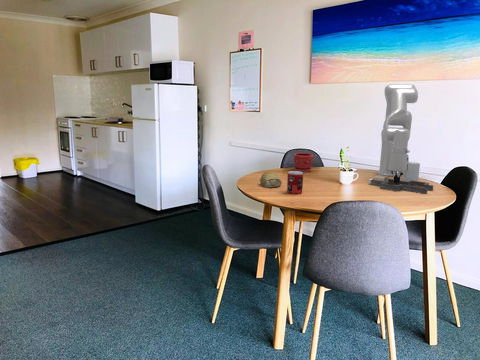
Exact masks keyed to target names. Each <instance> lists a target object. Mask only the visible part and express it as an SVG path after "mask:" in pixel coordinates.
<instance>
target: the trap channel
mask: <svg viewBox="0 0 480 360" xmlns="http://www.w3.org/2000/svg"><path fill="white" fill-rule="evenodd" d="M393 180H394V178H392V179H391V178H388V184H387V182H384V181H377V180H374V177H373V178H369V179H368V185H370V186H376V187H379V189H380V190H381V189H382V190H387V191H391V190H392V191H393V192H397V191H398V192H400V191H407V192H411V193H416V194H417V193H418V194H423V195H424V194H425V195H427V194H428V192H433V191H434V185H433V184H432V185H431V184H430V183H429V182H424V181H423V182H422V181H420V180H418V181H412V180H411V181H408V182H406V181H403V180H400V182H399V183H398V184H396V183H394V181H393ZM390 184H391V185H390Z"/></svg>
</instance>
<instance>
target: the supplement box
mask: <svg viewBox="0 0 480 360" xmlns="http://www.w3.org/2000/svg"><path fill="white" fill-rule="evenodd" d="M420 166H421V162H418V161H409V168H408V171H407V174H404V175H402V181H406V182H408V181H411V180H412V181H419V176H420V169H421V167H420Z"/></svg>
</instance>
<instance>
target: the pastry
mask: <svg viewBox="0 0 480 360" xmlns="http://www.w3.org/2000/svg"><path fill="white" fill-rule="evenodd" d="M259 182H260V185H261V186H262V187H263V188H264V187H265V188H266V189H272V188H276V187H277V188H279V187H281V186H282V179H281V178H280V177H279V175H278V174H277V173H275V172H272V171H265V172H263V173H262V175H261V176H260V179H259Z"/></svg>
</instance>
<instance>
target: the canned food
mask: <svg viewBox="0 0 480 360" xmlns="http://www.w3.org/2000/svg"><path fill="white" fill-rule="evenodd" d="M286 179H287V182H286V183H287V184H286V186H287V187H286V192H287V193H288V194H290V195H301V194H302V193H303V188H304V187H303V186H304V172H300V171H296V170H289V171H287V178H286Z"/></svg>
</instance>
